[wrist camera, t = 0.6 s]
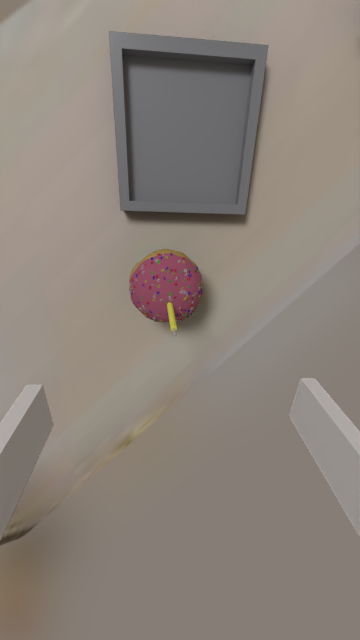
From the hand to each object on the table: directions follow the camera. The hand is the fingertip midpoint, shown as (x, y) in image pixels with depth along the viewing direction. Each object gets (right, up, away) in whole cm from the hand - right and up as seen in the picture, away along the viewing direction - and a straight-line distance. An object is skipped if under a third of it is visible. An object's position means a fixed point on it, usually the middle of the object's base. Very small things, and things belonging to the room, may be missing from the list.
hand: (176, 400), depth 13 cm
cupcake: (-2, +10, +20) cm, 23 cm away
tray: (+1, +23, +13) cm, 27 cm away
